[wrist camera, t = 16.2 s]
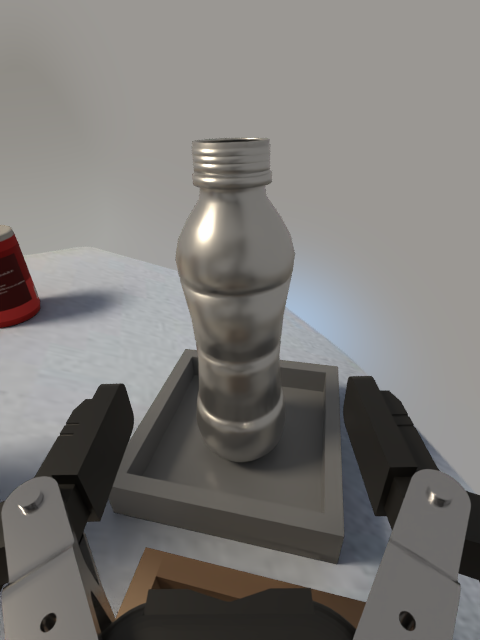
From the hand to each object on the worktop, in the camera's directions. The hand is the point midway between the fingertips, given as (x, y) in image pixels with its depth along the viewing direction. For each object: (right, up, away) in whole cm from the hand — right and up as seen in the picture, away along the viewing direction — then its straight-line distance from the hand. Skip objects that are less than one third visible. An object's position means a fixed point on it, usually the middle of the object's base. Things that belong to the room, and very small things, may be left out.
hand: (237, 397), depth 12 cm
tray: (0, -7, +14) cm, 15 cm away
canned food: (-31, +3, +33) cm, 45 cm away
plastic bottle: (0, -6, +14) cm, 15 cm away
